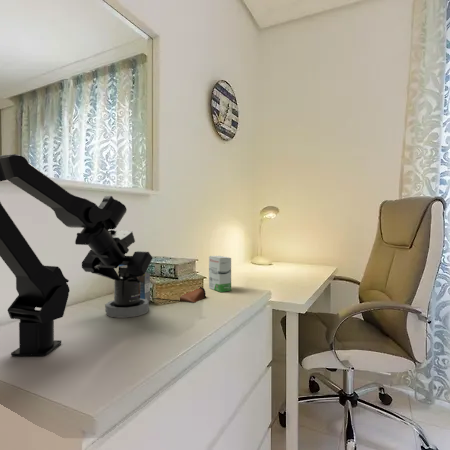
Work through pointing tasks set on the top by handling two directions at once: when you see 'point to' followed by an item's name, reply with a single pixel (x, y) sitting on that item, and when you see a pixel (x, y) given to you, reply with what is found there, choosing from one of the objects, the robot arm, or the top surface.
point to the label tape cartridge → (145, 287)
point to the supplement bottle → (126, 289)
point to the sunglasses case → (193, 295)
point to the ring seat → (127, 309)
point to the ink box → (220, 273)
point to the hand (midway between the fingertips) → (130, 280)
